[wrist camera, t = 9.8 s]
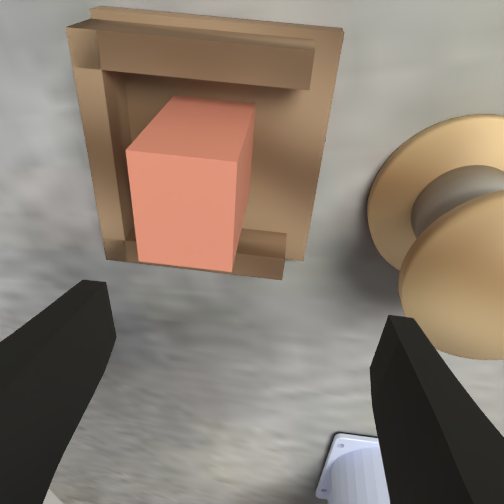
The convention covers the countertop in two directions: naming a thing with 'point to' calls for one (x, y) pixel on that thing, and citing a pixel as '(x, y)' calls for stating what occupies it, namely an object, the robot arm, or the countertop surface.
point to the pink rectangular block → (192, 182)
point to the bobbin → (447, 232)
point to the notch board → (212, 87)
